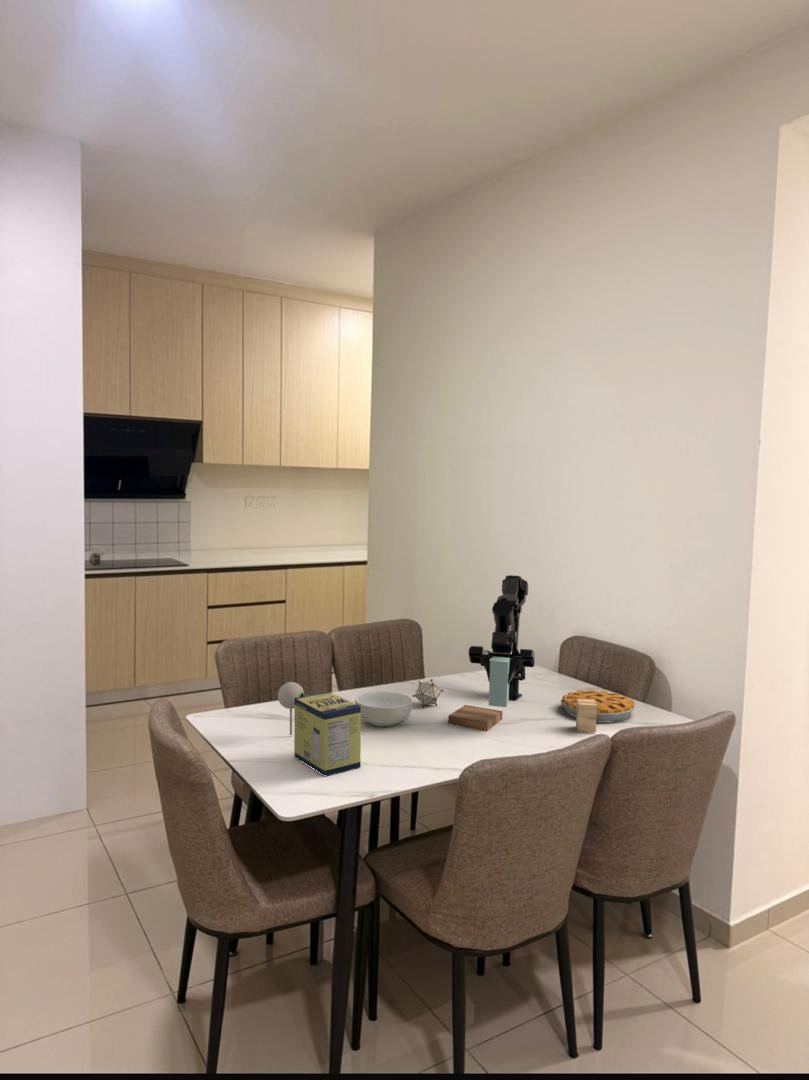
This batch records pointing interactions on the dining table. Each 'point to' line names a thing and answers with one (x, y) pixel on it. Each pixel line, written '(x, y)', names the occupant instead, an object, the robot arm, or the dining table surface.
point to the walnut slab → (475, 717)
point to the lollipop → (289, 697)
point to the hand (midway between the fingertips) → (498, 682)
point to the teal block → (499, 681)
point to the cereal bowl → (384, 707)
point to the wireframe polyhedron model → (427, 693)
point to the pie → (601, 704)
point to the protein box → (327, 732)
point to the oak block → (586, 715)
